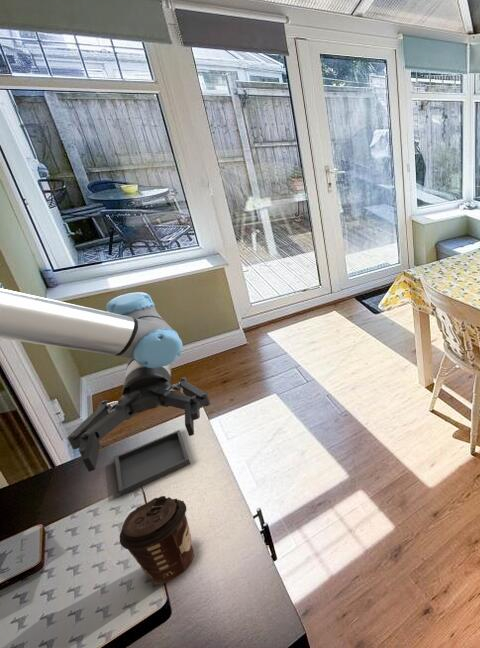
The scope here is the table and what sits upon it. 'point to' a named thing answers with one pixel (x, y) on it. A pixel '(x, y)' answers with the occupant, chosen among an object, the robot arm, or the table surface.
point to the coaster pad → (150, 462)
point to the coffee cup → (159, 538)
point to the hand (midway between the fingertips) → (141, 446)
